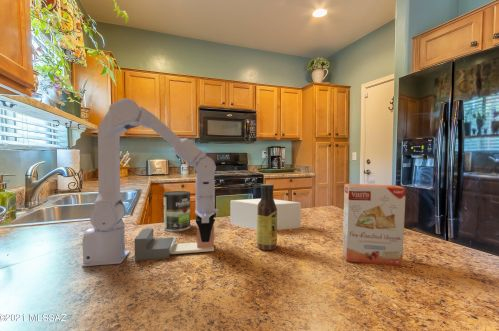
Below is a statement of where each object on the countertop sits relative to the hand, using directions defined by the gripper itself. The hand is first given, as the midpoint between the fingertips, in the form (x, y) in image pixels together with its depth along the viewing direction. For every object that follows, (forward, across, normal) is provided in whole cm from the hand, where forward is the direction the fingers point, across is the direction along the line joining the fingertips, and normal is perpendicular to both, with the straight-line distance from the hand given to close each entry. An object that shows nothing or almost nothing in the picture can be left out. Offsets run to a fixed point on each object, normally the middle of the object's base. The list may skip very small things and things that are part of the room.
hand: (205, 239), depth 72 cm
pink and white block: (+2, 0, +5) cm, 6 cm away
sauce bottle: (+3, -2, -19) cm, 19 cm away
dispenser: (+3, 0, +14) cm, 15 cm away
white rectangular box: (+3, +20, -24) cm, 31 cm away
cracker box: (+3, -16, -45) cm, 48 cm away
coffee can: (+3, +24, +11) cm, 27 cm away
